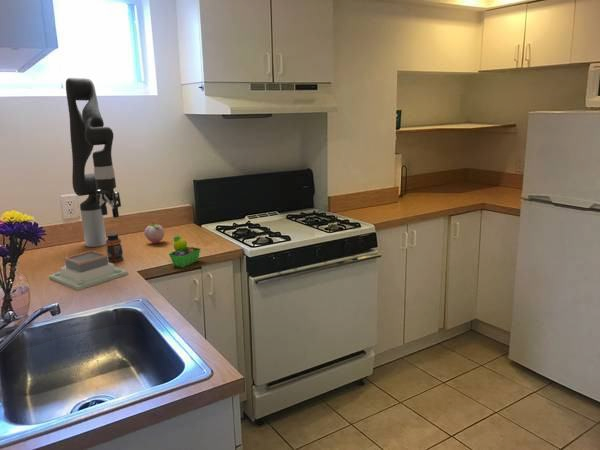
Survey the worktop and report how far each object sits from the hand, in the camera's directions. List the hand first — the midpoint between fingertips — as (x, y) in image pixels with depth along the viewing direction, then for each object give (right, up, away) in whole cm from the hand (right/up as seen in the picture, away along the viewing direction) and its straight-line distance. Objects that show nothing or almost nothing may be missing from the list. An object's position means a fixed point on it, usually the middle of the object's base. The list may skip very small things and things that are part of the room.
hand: (110, 216), depth 202 cm
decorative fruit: (+11, -12, +28) cm, 32 cm away
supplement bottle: (+1, -19, +5) cm, 19 cm away
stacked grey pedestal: (-3, -23, -14) cm, 27 cm away
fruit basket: (+31, -19, -2) cm, 37 cm away
